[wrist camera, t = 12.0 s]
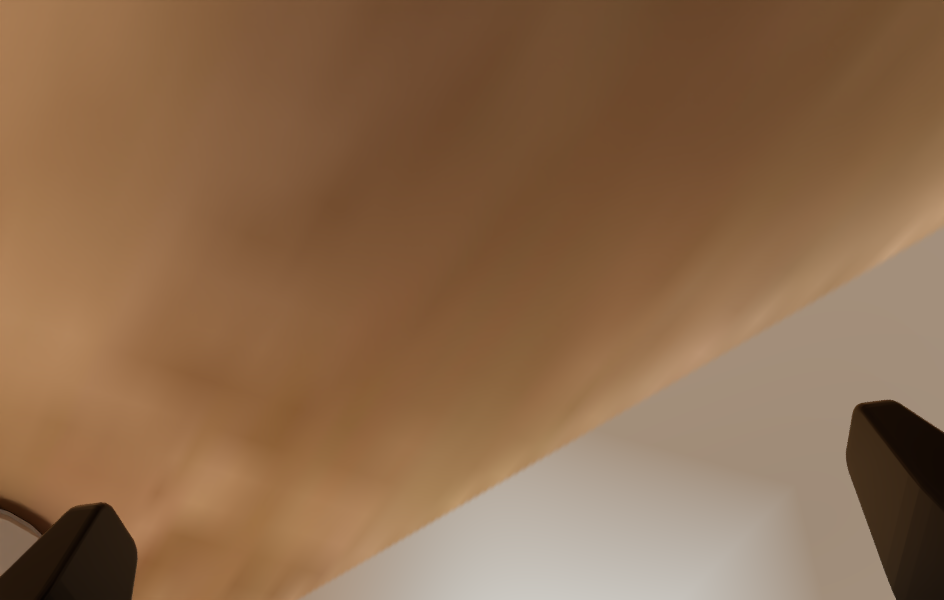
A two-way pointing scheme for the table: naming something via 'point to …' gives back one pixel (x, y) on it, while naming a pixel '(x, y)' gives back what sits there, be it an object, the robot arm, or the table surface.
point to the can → (14, 538)
